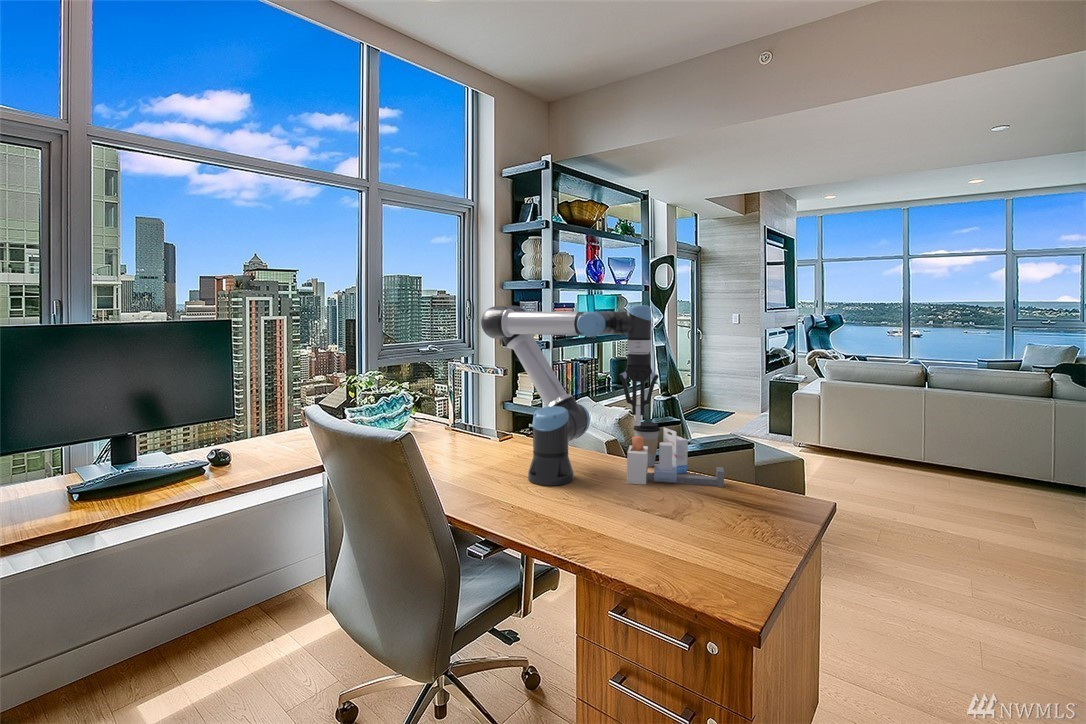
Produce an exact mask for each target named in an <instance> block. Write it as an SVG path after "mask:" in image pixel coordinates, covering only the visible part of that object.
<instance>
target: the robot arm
mask: <svg viewBox="0 0 1086 724" xmlns="http://www.w3.org/2000/svg"><path fill="white" fill-rule="evenodd" d="M651 311H652V309H651V307H650V305H647V304H642V305H641V304H639V305H633V304H632V305H628V306H627V309H626V310H624V311H606V310H605V311H603V310H602V311H594V310H593V311H591V310H590V311H528V309H526V308H524V307H521V306H518V305H509V306H508V305H507V306H506V305H505V306H504V305H495V306H491V307H488V308H487V309H486V310H485V311H484V312H483V314H482V316H481V318H480V319H481V321H480V325H481V329H482V331H483V332H484V333H485V335H487V336H488V337H489V338H492V339H496V340H498V339H499V340H501V339H502V341H503V342H504V345H505V346H506V347H507V349H511V350H513V351H514V354H515V355H516V357H517V358H518V360H519V362H520V364H521V365H522V367H523V369H524V371H525V372H526V374H527V376H528V378H529V380H530V381H531V383H532V385H533V386H534V388H535V390H536V392H537V393H538V395H539V398H540V399H541V401H542V402H543V405H545V407H541V408H539V409H536V410H535V412H533V416H532V417H533V419H532V443H533V444H532V453H533V454H532V459H531V462H530V464H529V468H528V471H527V479H528V481H529V482H530V483H532V484H535V485H540V486H549V487H550V486H552V487H553V486H554V487H555V486H562V485H566V484H570V483H572V482H573V481H574V477H575V476H574V474H575V473H574V469H573V467H572V463H571V460H570V457H569V442H570V441H574V440H575V439H579V438H580V437H582V436H583V435H584V434H586V432H587V431H588V430H589V427H590V423H591V416H590V413H589V411H588V409H587V408H586V407H585V406H583V404H579V403H577V401H576V399H575V398H574V396H573V395H572V394H568V393H567V392H566V390H565V389H564V387H563V385H562V384H561V382H560V380H559V378H558V377H557V374H555V371H554V370H553V368H552V366H551V365H550V363H549V361H548V360H547V358H546V356H545V355H544V353H543V351H542V350H541V348H540V346H539V344H538V343H537V341H536V340H535V335H541V336H542V335H543V336H547V335H548V336H581V337H583V336H585V337H590V338H592V337H597V336H598V337H599V336H605V335H607V336H608V335H627V338H626V339H627V342H626V343H627V345H626V351H627V355H626V360H627V361H626V368H625V370H624V371H623V372H621V373H620V374H619V375H618V378H619V379H620V381H621V383H622V388H623V392H624V395H625V397H624V398H625V399H626V404H630V405H631V406H632V407H631V409H632V413H631V414H632V415H633V416H635V425H636V426H640V425H641V422H642V421H641V419H642V418H641V417H642V416H644V415H645V406H646V405H650V403H651V400H652V395H653V392H654V388H655V384H656V382H657V380H658V379H659V375H658V374H656V372H655V373H654V372H653V369H652V366H651V361H652V359H651V358H652V357H651V354H650V353H651V352H652V312H651ZM627 376H628V377H629V379H630V380H631V383H632V392H631V393H632V396H631V395H630V390H629V386H628V382H627ZM648 378H650V379H651V383H650V385H649V389H648V392H647V393H648V394H647V398H645V392H646V390H645V389H646V385H645V384H646V381H647V379H648ZM638 382H640V387H639V389H640V391H639V392H640V395H639V396H640V400H639V401H640V404H637V403H638V402H637V399H638V398H637V397H638V395H637V392H638V390H637V388H638V387H637V386H638V385H637V384H638ZM631 397H632V398H631ZM645 399H646V400H645Z"/></svg>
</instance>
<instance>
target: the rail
mask: <svg viewBox="0 0 1086 724" xmlns="http://www.w3.org/2000/svg"><path fill="white" fill-rule="evenodd" d="M715 469H716V470H715V471H716V472H715V476H706V475H690V474H677V479H676V482H664V481H654V472H647V479H646V482H651V483H652V482H653V483H654V482H655V483H667V484H683V485H696V486H697V485H698V486H699V485H701V486H711V487H712V486H715V487H717V488H724V487H725V470H724V467H722V466H716V467H715Z"/></svg>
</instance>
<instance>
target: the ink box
mask: <svg viewBox="0 0 1086 724" xmlns="http://www.w3.org/2000/svg"><path fill="white" fill-rule="evenodd" d="M662 432H663V436H662V442H663V443H672V465H677V475H682V474H687V473H688V453H689V451H688V448H689V447H688V443H689V440H688V438H687V439H686V438H683V437H681V436H678V435H677V434H678V433H677V431H675V430H672V429H670V428H667V427H665V426H663V431H662Z"/></svg>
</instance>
